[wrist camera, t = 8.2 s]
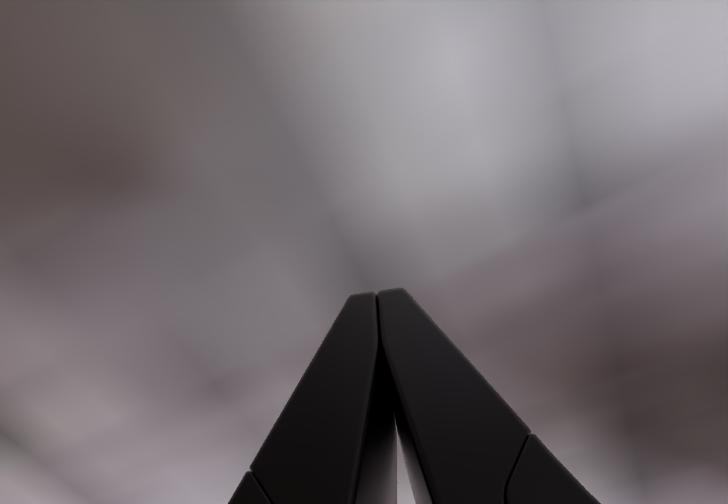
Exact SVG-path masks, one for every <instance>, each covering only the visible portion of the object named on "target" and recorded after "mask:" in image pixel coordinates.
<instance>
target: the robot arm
mask: <svg viewBox="0 0 728 504" xmlns="http://www.w3.org/2000/svg"><path fill="white" fill-rule="evenodd" d="M395 420H396V423H395ZM396 426H397V431H398V436H399V440H400V444H401V449H402V453H403V456H404V460H405V464H406V468H407V472H408V476H409V479H410V483H411V487H412V491H413V495H414V499H415V503H416V504H601V503H600V502H599V501H598V500H597V499H596V498H594V497H593V496H592V495H591V494H590V493H589V492H588V491H587V490H586V489H585V488H584V487H583V486H582V485H581V484H580V483H579V482H578V481H577V479H576V478H575V477H574V476H573V475H572V474H571V473H570V472H569V471H568V470H567V469H566V468H565V467H564V466H563V465H562V464H561V463H560V462H559V461H558V460H557V458H556V457H555V456H554V455H553V454H552V453H551V452H550V451H549V450H548V448H547V447H546V446H545V445H544V444H543V443H542V442H541V441H540V440H539V438H538V437H537V436H536V435H535V434H531V431H530V429H529V428H528V426H527V425H526V424H525V423H524V422H523V421H522V420H521V419H520V418H519V416H518V415H517V414H516V413H515V412H514V411H513V410H512V409H511V407H510V406H509V405H508V404H507V403H506V402H505V401H504V400H503V399H502V397H501V396H500V395H499V394H498V393H497V392H496V391H495V390H494V388H493V387H492V386H491V385H490V384H489V383H488V382H487V381H486V379H485V378H484V377H483V376H482V375H481V374H480V373H479V372H478V371H477V369H476V368H475V367H474V366H473V365H472V364H471V363H470V362H469V360H468V359H467V358H466V357H465V356H464V355H463V354H462V353H461V351H460V350H459V349H458V348H457V347H456V346H455V345H454V344H453V343H452V341H451V340H450V339H449V338H448V337H447V336H446V335H445V334H444V332H443V331H442V330H441V329H440V328H439V327H438V326H437V325H436V323H435V322H434V321H433V320H432V319H431V318H430V317H429V316H428V315H427V313H426V312H425V311H424V310H423V309H422V308H421V307H420V306H419V304H418V303H417V302H416V301H415V300H414V299H413V298H412V297H411V296H410V294H409V293H408V292H407V291H406V290H405V289H403V288H395V289H388V290H382V291H379V292H378V294H377V295H376V293H374V292H368V293H361V294H354V295H351V296H350V297H349V298H348V299H347V301H346V303H345V304H344V306H343V308H342V310H341V311H340V313H339V315H338V316H337V318H336V320H335V322H334V323H333V325H332V327H331V328H330V330H329V332H328V334H327V335H326V337H325V339H324V340H323V342H322V344H321V346H320V347H319V349H318V351H317V352H316V354H315V356H314V358H313V359H312V361H311V363H310V364H309V366H308V368H307V370H306V371H305V373H304V375H303V376H302V378H301V380H300V382H299V383H298V385H297V387H296V388H295V390H294V392H293V394H292V395H291V397H290V399H289V400H288V402H287V404H286V406H285V407H284V409H283V411H282V412H281V414H280V416H279V418H278V419H277V421H276V423H275V424H274V426H273V428H272V429H271V431H270V433H269V435H268V436H267V438H266V440H265V441H264V443H263V445H262V447H261V448H260V450H259V452H258V453H257V455H256V457H255V459H254V460H253V462H252V464H251V465H250V471H248V472H246V473H245V475H244V477H243V479H242V480H241V482H240V484H239V485H238V487H237V489H236V491H235V492H234V494H233V496H232V497H231V499H230V501H229V502H228V504H397V434H396Z"/></svg>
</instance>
